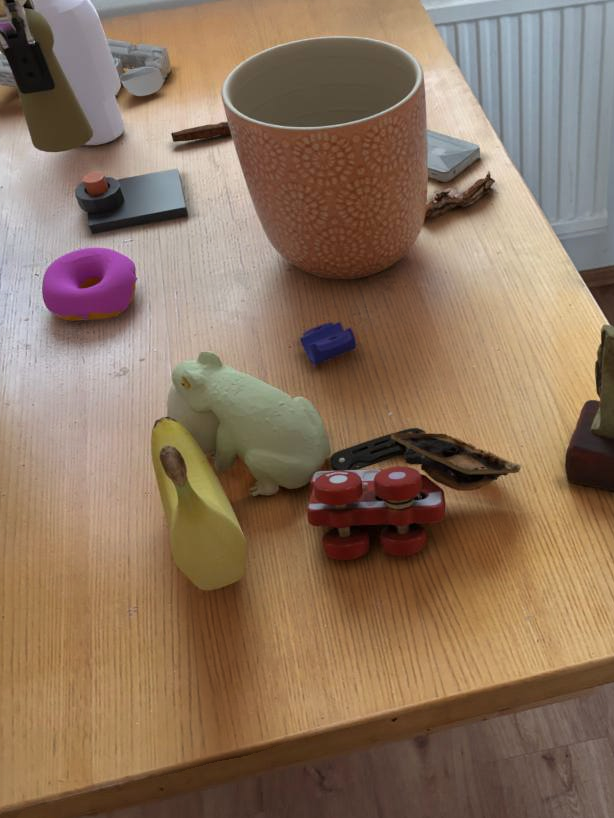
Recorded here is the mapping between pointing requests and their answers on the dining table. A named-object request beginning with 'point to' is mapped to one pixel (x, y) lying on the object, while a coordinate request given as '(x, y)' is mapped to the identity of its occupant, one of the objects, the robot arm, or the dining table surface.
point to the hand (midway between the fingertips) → (38, 74)
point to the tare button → (95, 183)
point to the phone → (449, 156)
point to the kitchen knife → (201, 132)
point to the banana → (196, 509)
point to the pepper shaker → (52, 100)
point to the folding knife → (368, 452)
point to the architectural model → (138, 81)
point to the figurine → (248, 423)
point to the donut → (89, 284)
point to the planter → (333, 150)
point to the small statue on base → (596, 426)
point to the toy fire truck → (374, 509)
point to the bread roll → (452, 460)
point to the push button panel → (134, 201)
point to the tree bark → (458, 197)
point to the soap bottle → (86, 63)
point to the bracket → (327, 342)
